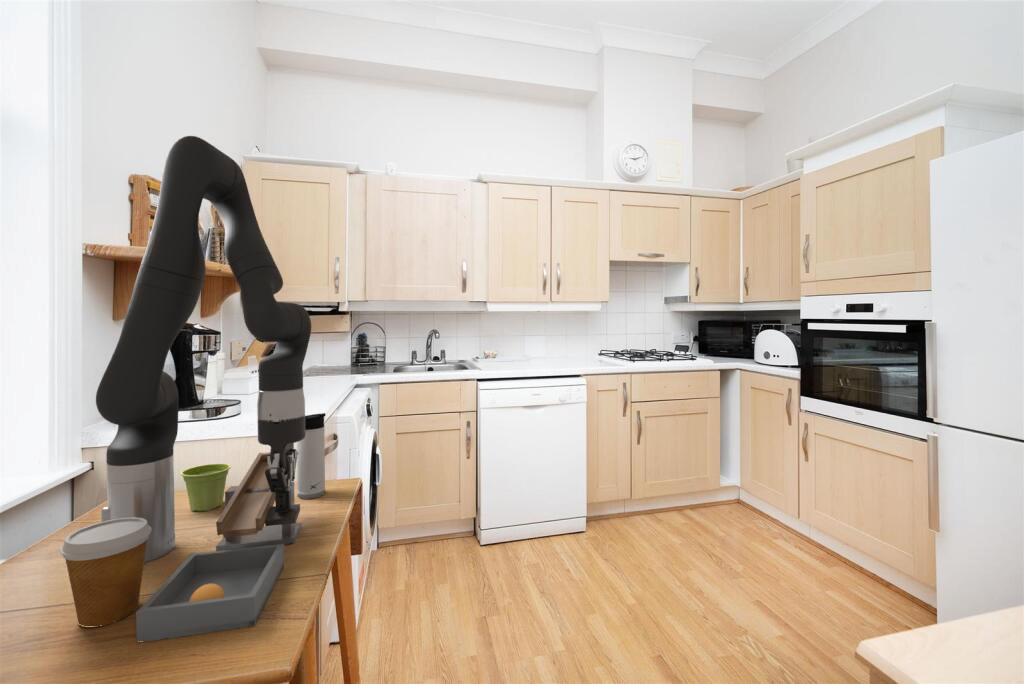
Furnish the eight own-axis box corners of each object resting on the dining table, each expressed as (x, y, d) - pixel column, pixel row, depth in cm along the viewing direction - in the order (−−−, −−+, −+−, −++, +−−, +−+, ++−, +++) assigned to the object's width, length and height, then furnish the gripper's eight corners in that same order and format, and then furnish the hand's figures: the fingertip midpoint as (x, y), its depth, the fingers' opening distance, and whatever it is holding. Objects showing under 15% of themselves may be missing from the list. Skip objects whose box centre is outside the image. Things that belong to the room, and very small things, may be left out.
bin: (136, 643, 57) (136, 612, 57) (191, 578, 72) (191, 553, 72) (254, 625, 60) (254, 596, 60) (283, 567, 75) (283, 543, 75)
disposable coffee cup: (150, 586, 70) (148, 510, 69) (155, 615, 63) (153, 530, 62) (64, 612, 63) (62, 529, 63) (58, 647, 56) (56, 553, 56)
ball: (180, 610, 58) (191, 580, 61) (188, 624, 60) (199, 594, 64) (215, 606, 59) (224, 576, 62) (221, 619, 61) (230, 590, 65)
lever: (219, 548, 74) (216, 522, 73) (261, 473, 97) (259, 452, 95) (293, 540, 77) (291, 515, 76) (317, 469, 99) (316, 449, 98)
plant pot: (179, 505, 102) (179, 468, 102) (227, 496, 108) (227, 460, 108) (182, 518, 95) (182, 478, 95) (234, 507, 101) (233, 469, 101)
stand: (215, 551, 81) (215, 496, 80) (230, 534, 87) (229, 483, 87) (293, 543, 84) (293, 489, 84) (301, 527, 91) (301, 478, 90)
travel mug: (319, 499, 106) (318, 416, 106) (292, 499, 106) (291, 416, 106) (330, 490, 112) (330, 411, 112) (304, 490, 112) (304, 411, 112)
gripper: (268, 409, 84) (270, 499, 85) (245, 422, 72) (248, 529, 72) (311, 407, 86) (312, 495, 87) (296, 420, 73) (298, 524, 74)
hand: (283, 510), depth 79 cm, fingers closed
